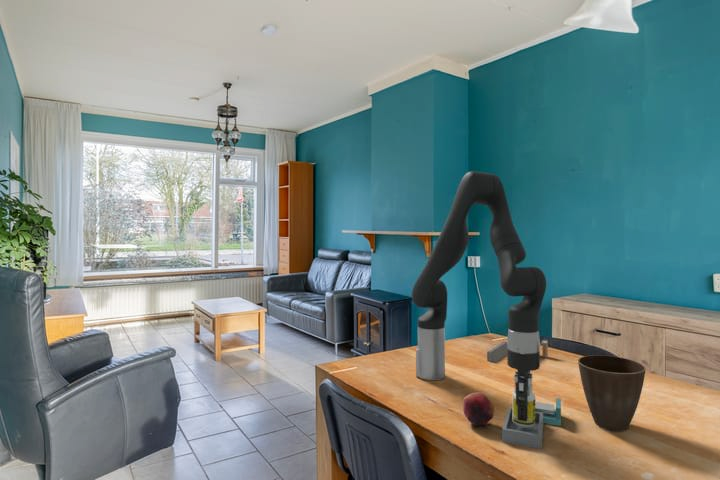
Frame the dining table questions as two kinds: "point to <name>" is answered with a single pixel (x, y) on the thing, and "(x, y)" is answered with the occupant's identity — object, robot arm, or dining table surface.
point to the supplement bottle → (530, 410)
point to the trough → (523, 431)
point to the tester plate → (544, 408)
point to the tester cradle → (556, 417)
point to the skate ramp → (501, 351)
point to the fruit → (478, 408)
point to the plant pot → (611, 389)
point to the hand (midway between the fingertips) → (523, 414)
